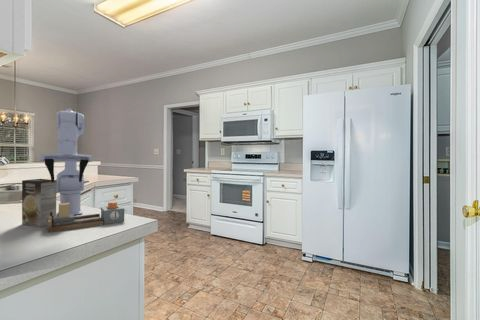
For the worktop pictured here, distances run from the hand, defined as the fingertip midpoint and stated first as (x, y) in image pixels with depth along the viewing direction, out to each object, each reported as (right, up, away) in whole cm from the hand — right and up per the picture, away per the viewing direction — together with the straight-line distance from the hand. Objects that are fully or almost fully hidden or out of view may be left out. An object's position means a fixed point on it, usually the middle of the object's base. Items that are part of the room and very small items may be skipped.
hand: (66, 181), depth 84 cm
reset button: (+9, -13, +13) cm, 20 cm away
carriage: (-3, -15, +3) cm, 15 cm away
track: (-1, -16, +5) cm, 17 cm away
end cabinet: (+9, -16, +13) cm, 23 cm away
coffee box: (-15, -16, +7) cm, 23 cm away
